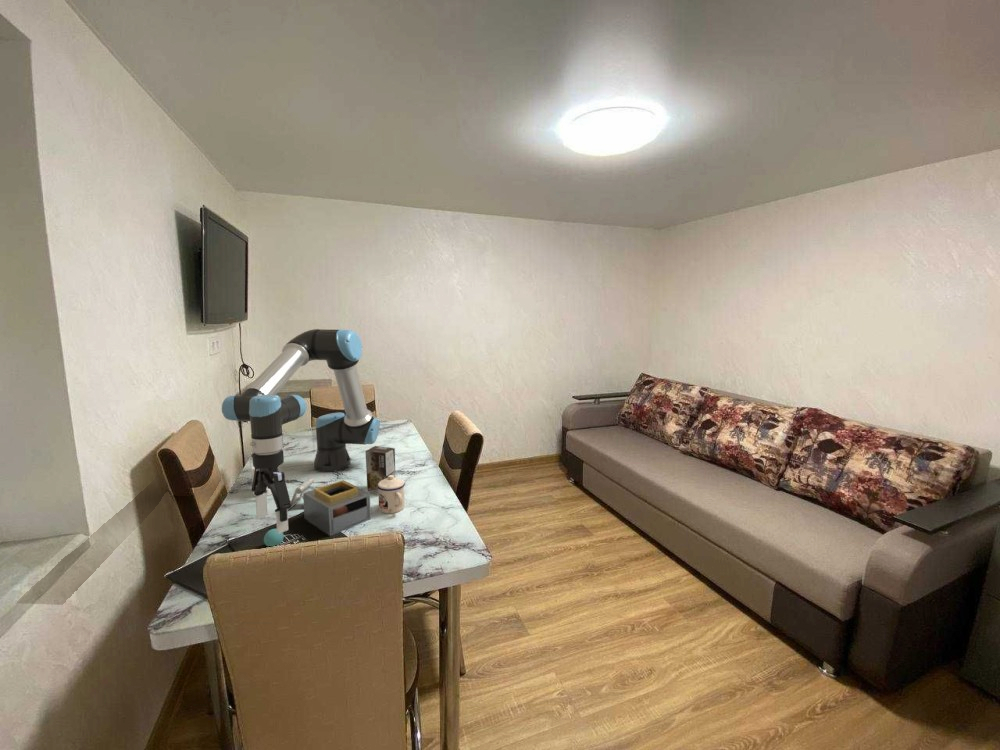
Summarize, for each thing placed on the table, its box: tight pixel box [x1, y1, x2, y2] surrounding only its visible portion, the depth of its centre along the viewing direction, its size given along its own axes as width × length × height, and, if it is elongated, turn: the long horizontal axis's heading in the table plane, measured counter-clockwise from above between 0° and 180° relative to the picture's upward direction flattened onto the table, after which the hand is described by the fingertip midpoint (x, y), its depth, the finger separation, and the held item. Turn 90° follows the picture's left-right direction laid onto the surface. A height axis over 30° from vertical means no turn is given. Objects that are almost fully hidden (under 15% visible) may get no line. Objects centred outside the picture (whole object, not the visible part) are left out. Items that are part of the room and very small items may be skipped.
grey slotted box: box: [302, 480, 372, 537], centre depth 133 cm, size 16×14×10 cm
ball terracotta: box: [333, 505, 348, 518], centre depth 133 cm, size 5×5×5 cm
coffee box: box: [365, 445, 397, 494], centre depth 156 cm, size 9×6×16 cm
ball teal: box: [263, 528, 285, 548], centre depth 118 cm, size 5×5×5 cm
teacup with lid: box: [377, 475, 406, 514], centre depth 141 cm, size 12×9×12 cm
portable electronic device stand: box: [287, 477, 315, 511], centre depth 143 cm, size 9×8×8 cm
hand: (272, 523), depth 117 cm, fingers open, 13 cm apart
